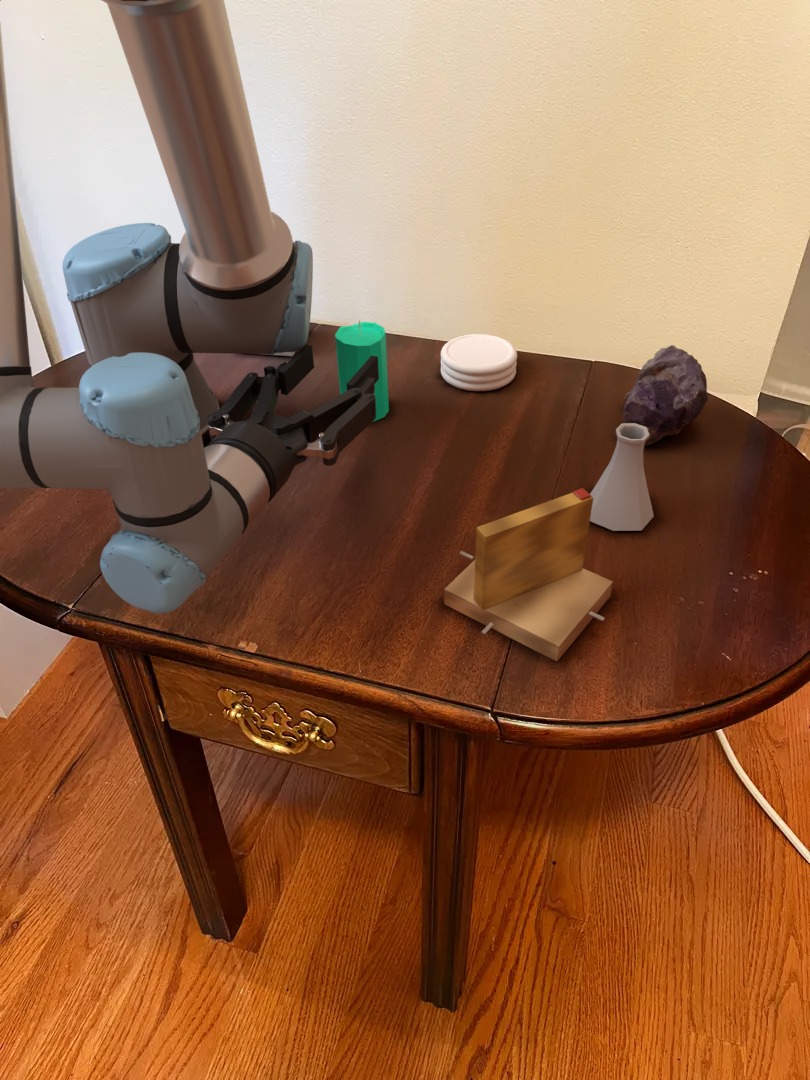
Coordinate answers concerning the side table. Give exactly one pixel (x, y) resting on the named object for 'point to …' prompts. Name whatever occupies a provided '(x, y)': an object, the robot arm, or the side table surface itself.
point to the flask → (624, 484)
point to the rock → (666, 393)
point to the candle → (363, 358)
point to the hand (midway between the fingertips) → (342, 361)
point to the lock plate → (536, 609)
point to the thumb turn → (531, 548)
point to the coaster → (478, 362)
